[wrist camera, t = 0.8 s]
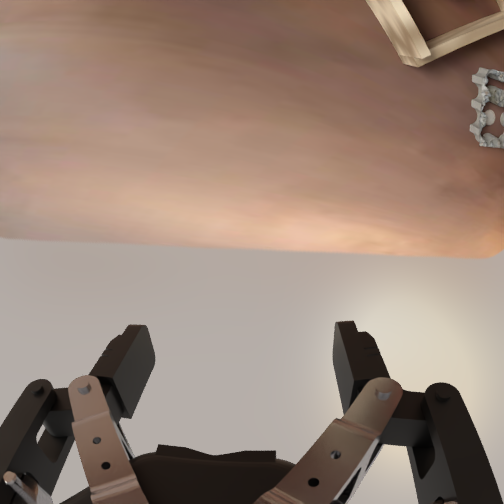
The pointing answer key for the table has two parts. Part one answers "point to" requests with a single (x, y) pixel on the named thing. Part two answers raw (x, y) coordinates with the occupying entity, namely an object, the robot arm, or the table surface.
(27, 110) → the table surface
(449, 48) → the frame
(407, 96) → the table surface
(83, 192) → the table surface
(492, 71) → the egg carton
